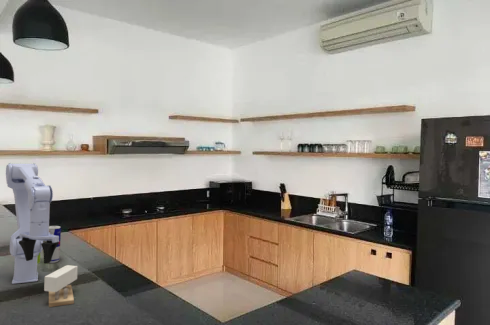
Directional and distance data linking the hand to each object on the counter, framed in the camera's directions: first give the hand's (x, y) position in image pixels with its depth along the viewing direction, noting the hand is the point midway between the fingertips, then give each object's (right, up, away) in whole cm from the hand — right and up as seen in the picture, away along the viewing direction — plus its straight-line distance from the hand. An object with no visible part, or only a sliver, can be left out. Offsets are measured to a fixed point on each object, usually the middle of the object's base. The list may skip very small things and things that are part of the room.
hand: (38, 261), depth 123 cm
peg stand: (+9, -11, -3) cm, 15 cm away
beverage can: (-13, -9, +33) cm, 36 cm away
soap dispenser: (-20, -9, +30) cm, 37 cm away
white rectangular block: (+9, -7, -3) cm, 12 cm away
